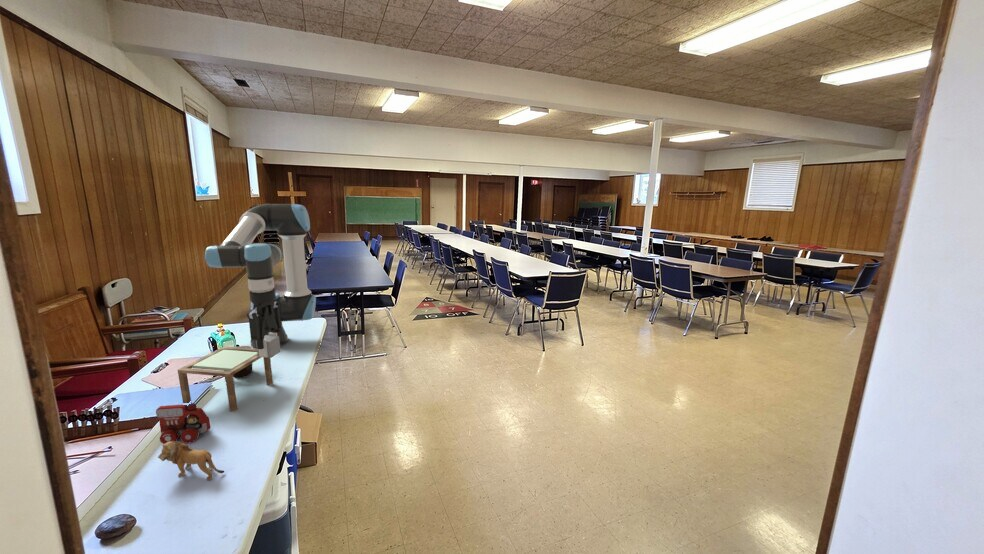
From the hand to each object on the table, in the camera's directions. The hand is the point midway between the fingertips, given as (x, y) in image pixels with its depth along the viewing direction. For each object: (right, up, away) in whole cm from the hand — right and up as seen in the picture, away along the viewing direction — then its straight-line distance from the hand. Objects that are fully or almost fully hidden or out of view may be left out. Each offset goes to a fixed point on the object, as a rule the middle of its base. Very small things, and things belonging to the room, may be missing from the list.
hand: (269, 353), depth 133 cm
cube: (0, 0, 0) cm, 0 cm away
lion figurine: (+2, -24, -36) cm, 44 cm away
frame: (-14, -15, 0) cm, 20 cm away
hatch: (-13, -2, -2) cm, 14 cm away
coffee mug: (-19, -11, +17) cm, 28 cm away
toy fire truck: (-11, -20, -22) cm, 32 cm away
